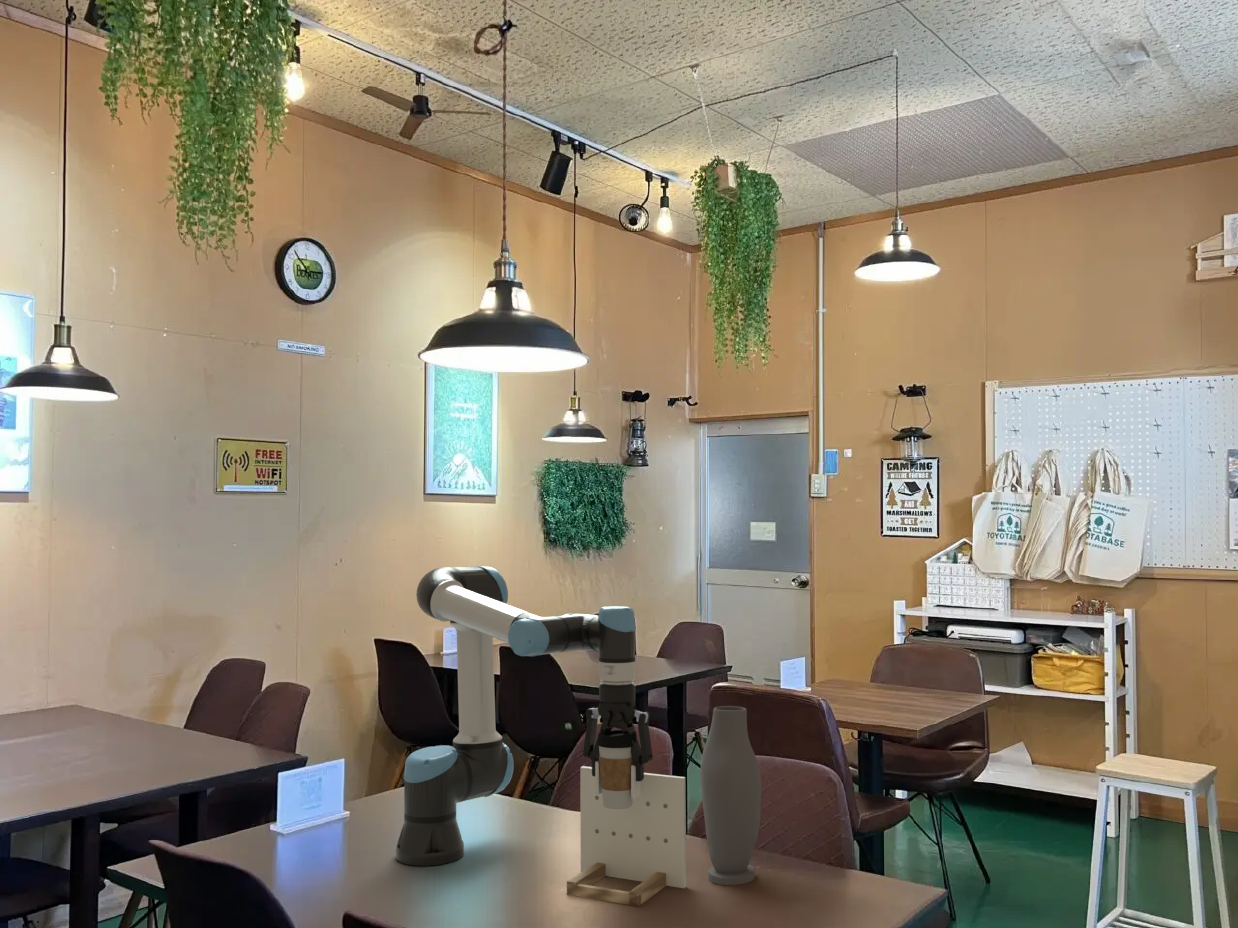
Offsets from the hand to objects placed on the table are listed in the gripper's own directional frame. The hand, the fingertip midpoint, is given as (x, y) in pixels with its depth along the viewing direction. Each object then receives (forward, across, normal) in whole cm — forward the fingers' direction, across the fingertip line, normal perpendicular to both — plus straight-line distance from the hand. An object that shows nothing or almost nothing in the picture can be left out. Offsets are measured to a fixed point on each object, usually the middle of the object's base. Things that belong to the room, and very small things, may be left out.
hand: (617, 794), depth 210 cm
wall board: (+19, 0, +7) cm, 20 cm away
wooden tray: (+19, 0, -1) cm, 19 cm away
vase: (+19, +18, +17) cm, 31 cm away
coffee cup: (+2, 0, 0) cm, 2 cm away
